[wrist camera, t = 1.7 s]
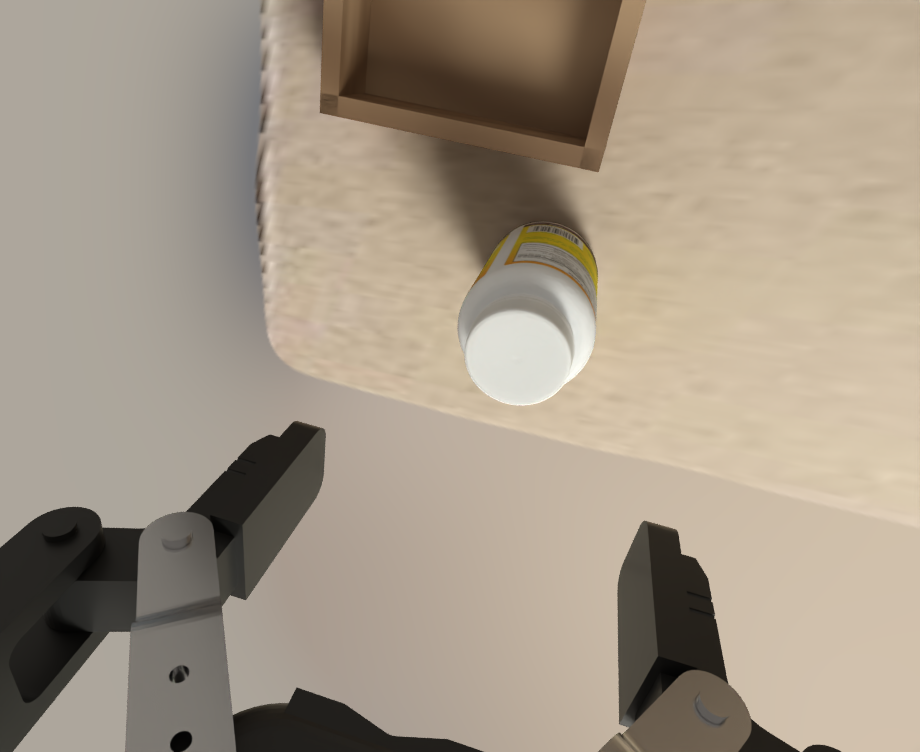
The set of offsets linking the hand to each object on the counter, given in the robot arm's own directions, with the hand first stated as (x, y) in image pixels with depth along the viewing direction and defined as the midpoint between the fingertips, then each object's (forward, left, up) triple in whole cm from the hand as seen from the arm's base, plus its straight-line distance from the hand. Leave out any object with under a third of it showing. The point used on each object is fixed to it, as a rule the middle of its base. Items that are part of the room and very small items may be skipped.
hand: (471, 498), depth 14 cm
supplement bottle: (0, 0, -18) cm, 18 cm away
